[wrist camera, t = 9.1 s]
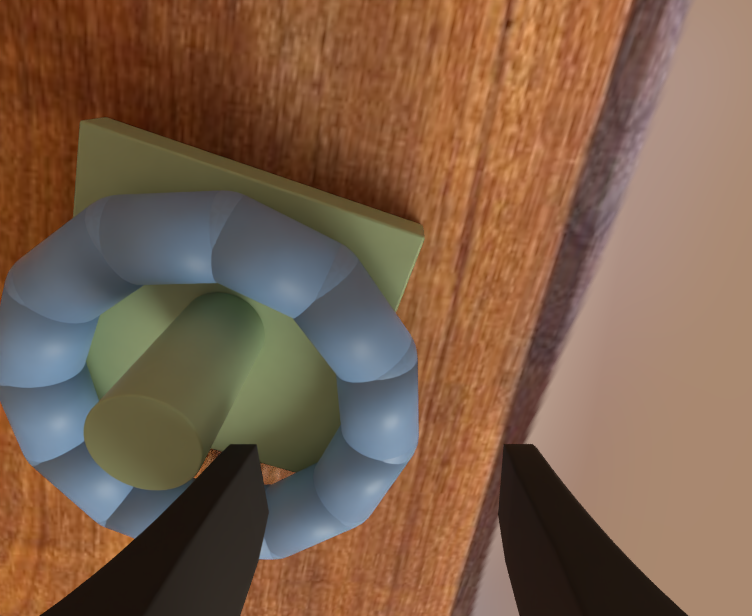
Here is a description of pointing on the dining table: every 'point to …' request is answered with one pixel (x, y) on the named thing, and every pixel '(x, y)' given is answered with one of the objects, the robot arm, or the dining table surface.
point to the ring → (244, 275)
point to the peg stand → (215, 325)
